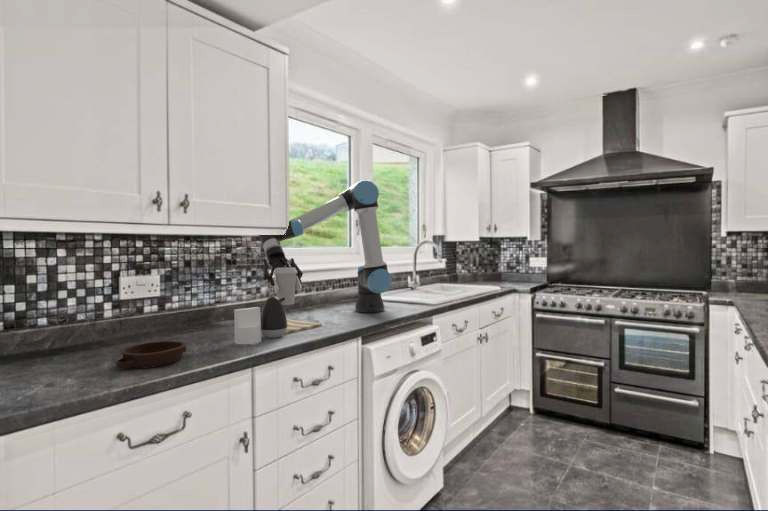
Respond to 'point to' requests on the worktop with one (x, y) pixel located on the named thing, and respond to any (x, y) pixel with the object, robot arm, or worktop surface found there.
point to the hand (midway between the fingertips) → (289, 290)
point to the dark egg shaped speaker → (273, 318)
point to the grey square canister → (247, 325)
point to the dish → (151, 354)
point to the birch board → (299, 326)
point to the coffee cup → (286, 284)
